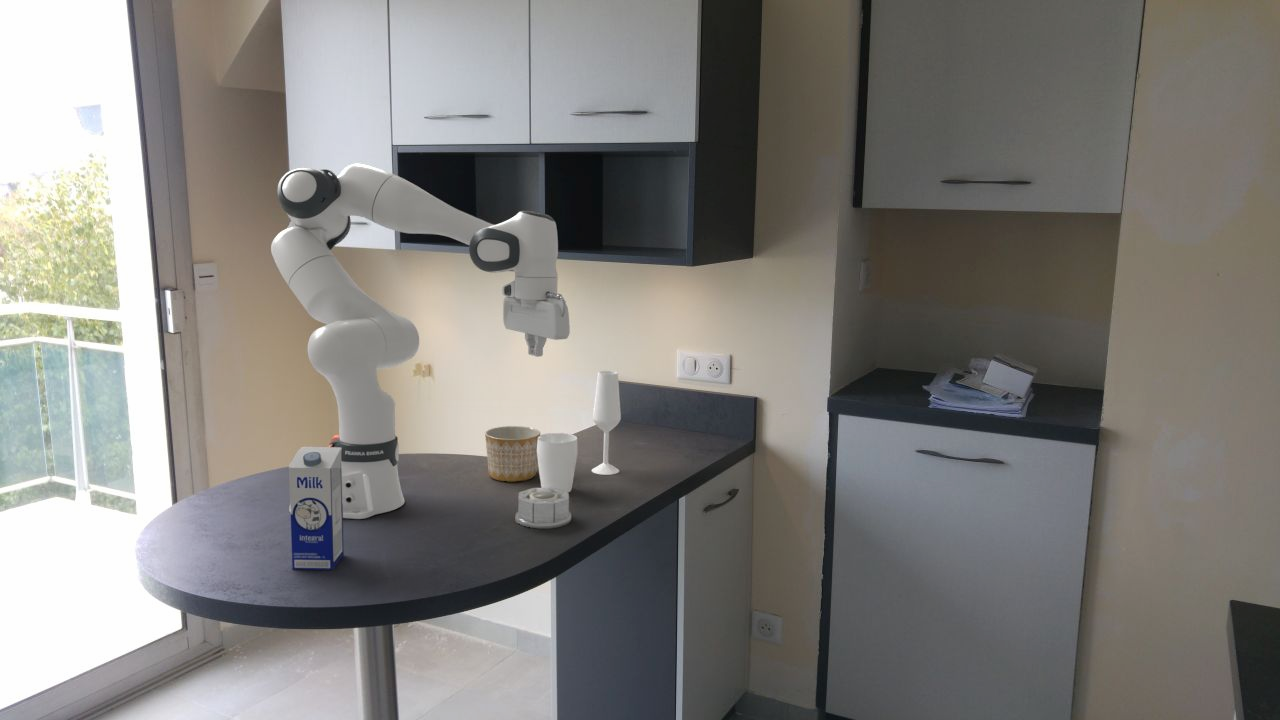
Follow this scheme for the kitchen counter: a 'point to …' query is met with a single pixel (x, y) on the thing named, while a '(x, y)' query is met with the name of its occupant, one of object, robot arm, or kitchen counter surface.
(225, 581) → the kitchen counter surface
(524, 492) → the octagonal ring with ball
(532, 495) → the cap
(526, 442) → the planter
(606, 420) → the champagne flute
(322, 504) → the milk carton
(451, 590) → the kitchen counter surface
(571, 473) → the cup
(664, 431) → the kitchen counter surface
